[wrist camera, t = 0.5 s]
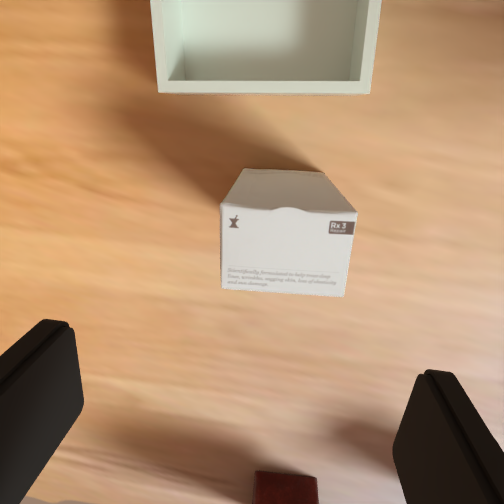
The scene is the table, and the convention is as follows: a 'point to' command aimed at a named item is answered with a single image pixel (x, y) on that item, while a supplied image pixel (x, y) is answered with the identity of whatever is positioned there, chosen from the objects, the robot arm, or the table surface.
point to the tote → (265, 46)
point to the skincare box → (285, 233)
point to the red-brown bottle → (284, 489)
